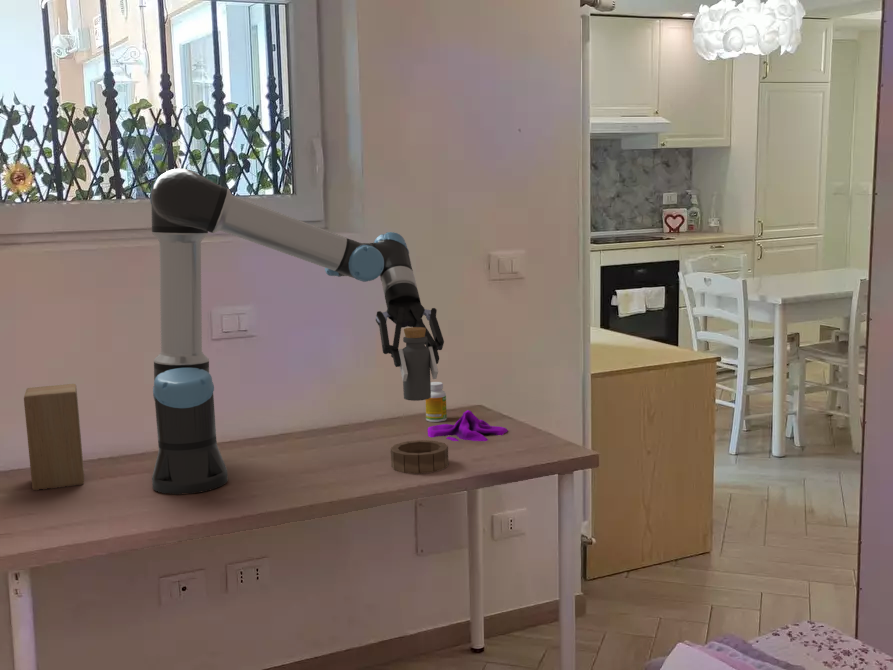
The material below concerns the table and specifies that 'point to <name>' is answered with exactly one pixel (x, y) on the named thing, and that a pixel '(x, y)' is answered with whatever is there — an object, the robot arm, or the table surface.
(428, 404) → the supplement bottle
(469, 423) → the cloth
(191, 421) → the robot arm
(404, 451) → the bead ring
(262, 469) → the table surface
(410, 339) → the bottle
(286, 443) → the table surface
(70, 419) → the wooden block
